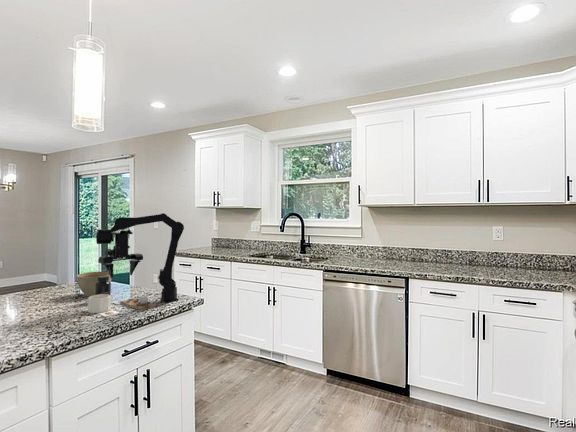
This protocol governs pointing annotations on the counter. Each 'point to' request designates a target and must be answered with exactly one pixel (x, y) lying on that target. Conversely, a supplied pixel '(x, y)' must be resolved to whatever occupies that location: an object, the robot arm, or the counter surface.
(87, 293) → the planter bowl
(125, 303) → the stand
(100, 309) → the cup
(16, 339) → the counter surface
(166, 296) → the robot arm
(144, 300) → the ball grey
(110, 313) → the tile
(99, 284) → the supplement bottle
